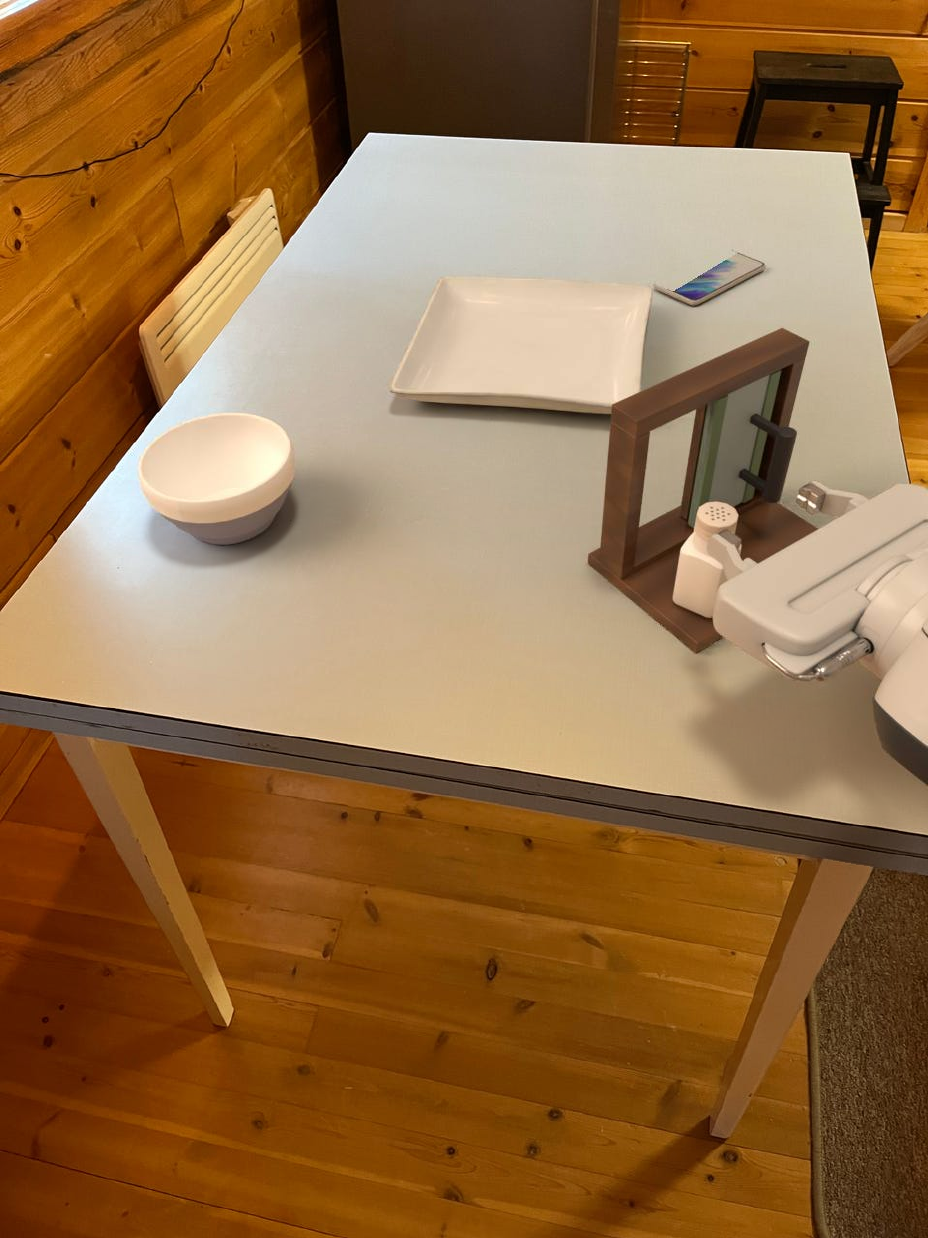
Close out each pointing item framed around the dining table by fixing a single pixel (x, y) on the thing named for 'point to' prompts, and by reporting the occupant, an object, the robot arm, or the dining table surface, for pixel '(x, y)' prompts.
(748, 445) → the window sash
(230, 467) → the bowl
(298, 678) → the dining table surface
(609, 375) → the square plate
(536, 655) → the dining table surface
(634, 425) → the window frame
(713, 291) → the smartphone
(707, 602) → the salt shaker
